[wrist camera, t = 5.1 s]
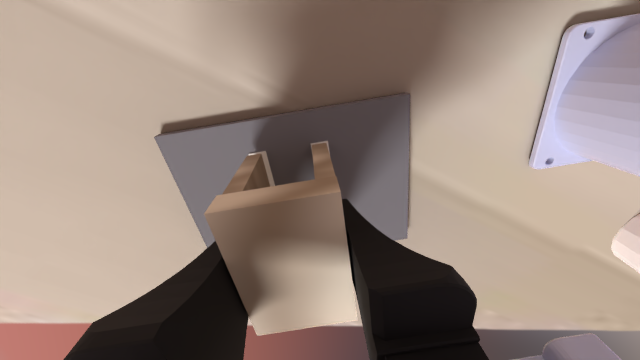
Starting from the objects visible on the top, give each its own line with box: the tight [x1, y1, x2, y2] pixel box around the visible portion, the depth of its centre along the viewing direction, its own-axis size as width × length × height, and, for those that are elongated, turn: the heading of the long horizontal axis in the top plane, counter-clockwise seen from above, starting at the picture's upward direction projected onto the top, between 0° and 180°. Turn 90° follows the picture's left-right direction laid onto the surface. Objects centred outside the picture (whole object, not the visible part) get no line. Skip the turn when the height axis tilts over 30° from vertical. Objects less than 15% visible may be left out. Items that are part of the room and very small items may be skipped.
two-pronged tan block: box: [204, 143, 358, 336], centre depth 12 cm, size 4×6×6 cm
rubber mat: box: [154, 93, 410, 248], centre depth 15 cm, size 14×10×1 cm
